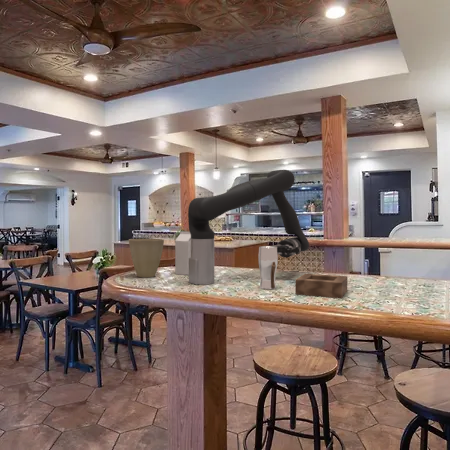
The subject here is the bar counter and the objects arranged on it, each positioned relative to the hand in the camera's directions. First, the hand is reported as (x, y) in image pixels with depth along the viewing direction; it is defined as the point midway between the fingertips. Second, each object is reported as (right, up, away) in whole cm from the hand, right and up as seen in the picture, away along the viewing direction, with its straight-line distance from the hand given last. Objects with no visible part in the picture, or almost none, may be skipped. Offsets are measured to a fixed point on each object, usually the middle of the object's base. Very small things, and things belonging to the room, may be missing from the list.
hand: (277, 251), depth 153 cm
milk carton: (-38, -12, +24) cm, 46 cm away
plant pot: (-54, -12, +16) cm, 58 cm away
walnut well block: (+13, -13, -18) cm, 25 cm away
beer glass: (-5, -13, -10) cm, 17 cm away
